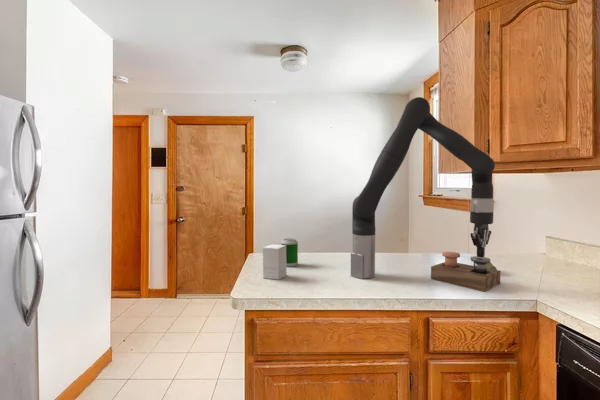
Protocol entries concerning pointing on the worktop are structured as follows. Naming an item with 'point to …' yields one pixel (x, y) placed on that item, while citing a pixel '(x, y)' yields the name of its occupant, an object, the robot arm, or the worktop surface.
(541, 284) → the worktop surface
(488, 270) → the brown wooden block
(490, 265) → the pear
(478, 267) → the grey knob
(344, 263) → the worktop surface
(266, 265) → the supplement box
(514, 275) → the worktop surface
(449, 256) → the tan round knob
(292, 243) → the soda can
